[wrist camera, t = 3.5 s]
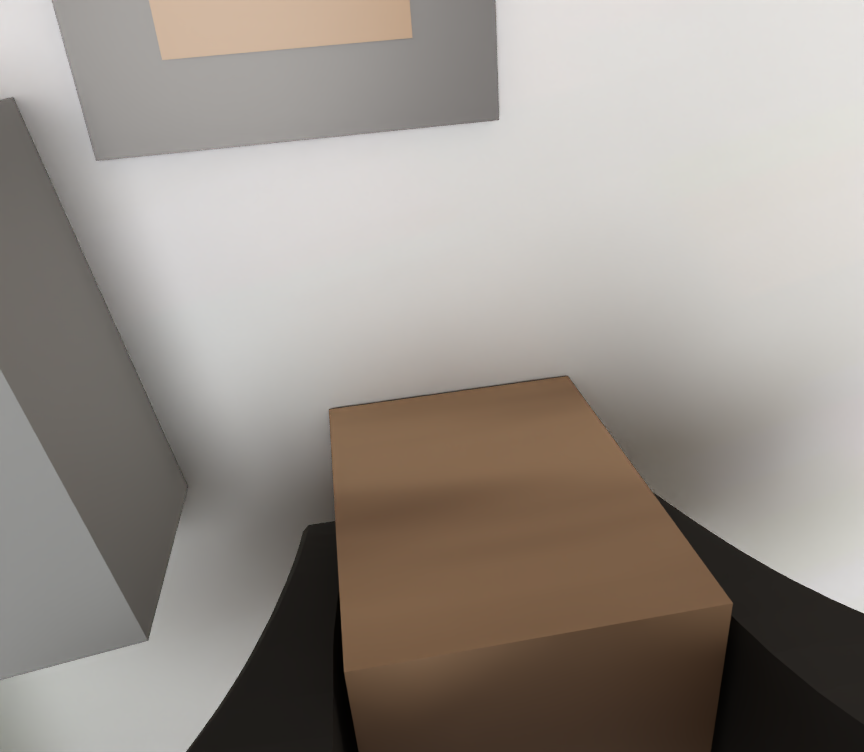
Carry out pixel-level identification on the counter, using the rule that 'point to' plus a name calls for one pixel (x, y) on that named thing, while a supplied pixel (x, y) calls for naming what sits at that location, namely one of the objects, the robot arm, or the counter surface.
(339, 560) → the walnut block
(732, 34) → the counter surface
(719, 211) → the counter surface
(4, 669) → the slate base block
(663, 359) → the counter surface
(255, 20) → the card
